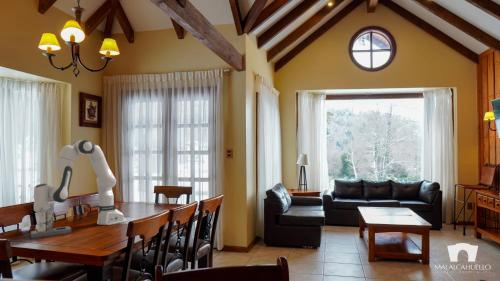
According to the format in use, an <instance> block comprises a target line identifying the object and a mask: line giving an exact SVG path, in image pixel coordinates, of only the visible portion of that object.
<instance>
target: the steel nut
mask: <svg viewBox="0 0 500 281" xmlns="http://www.w3.org/2000/svg"><path fill="white" fill-rule="evenodd" d="M36 230H37V232H44V231H45V223H44V228H43V229H40V224H39V223H37V229H36Z"/></svg>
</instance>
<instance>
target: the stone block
mask: <svg viewBox="0 0 500 281" xmlns="http://www.w3.org/2000/svg"><path fill="white" fill-rule="evenodd" d="M48 206H49V209H48V210H46V212H45V217H46V222H45V229H51V228H54V218H55V217H54V215H55V214H54V213H55V211H54V210H55V201H49V202H48Z"/></svg>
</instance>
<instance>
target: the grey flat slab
mask: <svg viewBox="0 0 500 281" xmlns="http://www.w3.org/2000/svg"><path fill="white" fill-rule="evenodd" d="M71 233H72V228H71V227H70V226H69V225H68V226H60V227H52V228H51V229H45V231H44V232H37V229H36V230H31V231H30V238H31V239H38V238H46V237H52V236H59V235H60V236H61V235H67V234H71Z"/></svg>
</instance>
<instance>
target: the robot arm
mask: <svg viewBox="0 0 500 281" xmlns="http://www.w3.org/2000/svg"><path fill="white" fill-rule="evenodd" d="M84 155H87V157H88V159H89V161H90V164H91V167H92V169H93V171H94V173H95V174H96V180H95V181H96V186H97V187H96V188H97V194H98V206H97V212H98V217H97V222H96V224H97V225H104V226H105V225H106V226H107V225H108V226H111V225H115V224H116V225H117V224H121V223H126V222H127V221H128V220H127V218H125V216H124V214H123V212H121V211H120V210H119V209H118V208H119V205H117V204H114V202H115V201H114V198H115V197H114V196H115V195H114V193H113V188H114V187H115V186H116V184H117V179H116V177H115V175H114V174H113V171H112V170H111V169H110V166H109V164H108V162H107V159H106V157H105V156H106V155H104V152H103V150H102V149H101V147H100V146H99V145H97V144H93V142H92V141H90V140H88V139H83V140H82V139H81V140H77V141H74V142H73V143H72V144H70V145H69V144H68V145H67V144H66V145H64V146H62V148H61V150H60V151H59V154H58V156H57V158H56V161H55V167H56V170H57V171H59V172H60V173H61V178H60V181H59V186H58V187H53V186H51V185H49V184H47V183H40V184H37V185H35V186H34V189H33V200H34V202H33V211H34V212H35V213H36V218H37V221H38V224H40V229H43V228H44V223H45V222H46V217H45V212H46V210H48V209H49V206H48V202H54V203H55V202H56V203H60V204H61V203H64V202H66V201H68V199H69V196H70V186H71V185H70V184H71V182H72V176H73V165H74V162H75V160H76V157H77V156H84Z"/></svg>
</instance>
